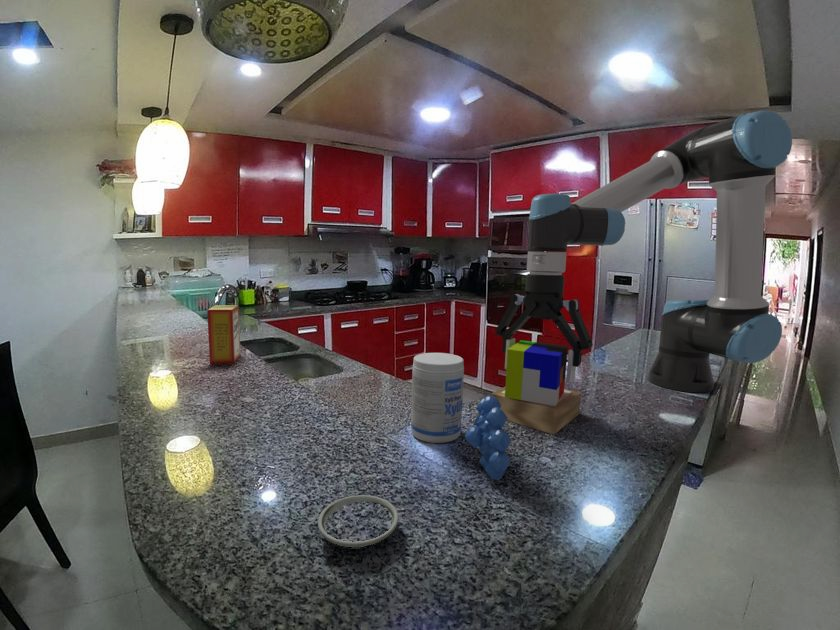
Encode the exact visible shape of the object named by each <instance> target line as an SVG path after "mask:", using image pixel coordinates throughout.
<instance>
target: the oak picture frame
mask: <svg viewBox="0 0 840 630" xmlns="http://www.w3.org/2000/svg"><path fill="white" fill-rule="evenodd" d="M490 395H492V396H494V397H495V398H496V399H497V400H498V401H499V403H500V404H501V408H500V409H501V410H502V411H503V412H504V413H505V415H506V416H507V420H506V422H507V421H508V422H511V423H515V424H517V425H520V426H521V425H522V426H525V427H528V428H531V429H535V430H537V431H541V432H544V433H547V434H551V435H555V434H557V433H558V432H559V431H560V430H561V429H562V428H564V427H565V426H567V425H568V424H569V423H570V422H571V421H573V420H574V419H575V418H576V417H577V416H579V415H580V410H581V409H580V407H581V400H582V398H581V396H582V392H580V391H576V390H571V389H566V388H564V393H563V394H562V396H561V398H560V399H559V401H558V403H557V404H556V406H549V405H544V404H539V403H533V402H528V401H523V400H518V399H512V398H507V397H505V386H504V387H501V388H499V389H497V390H495V391H493V392H491V393H490Z"/></svg>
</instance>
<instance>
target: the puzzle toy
mask: <svg viewBox="0 0 840 630" xmlns="http://www.w3.org/2000/svg"><path fill="white" fill-rule="evenodd" d="M568 351H569V346H568V345H561V344H552V343H544V342H537V341H529V340H521V339H520V340H518V342H515V345H513V346H512V347H510V348H509V349H508V351H507V368H506V369H505V385H504V387H505V397H507V398H512V399H518V400H523V401H528V402H533V403H539V404H544V405H549V406H556V404H557V403H558V401H559V399H560V398H561V396H562V394H563V393H564V389H565V383H566V375H567V363H568Z"/></svg>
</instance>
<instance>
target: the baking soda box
mask: <svg viewBox="0 0 840 630" xmlns="http://www.w3.org/2000/svg"><path fill="white" fill-rule="evenodd" d="M239 309H240V307H239V304H237V305H236V304H235V305H234V304H233V305H232V304H231V305H230V304H229V305H228V304H227V305H226V304H225V305H224V304H220V305H219V304H218V305H217V304H216V305H213V306H212V307H210V308H208V309H207V310H206V311H207V312H206V313H207V329H208V330H207V333H208V335H207V336H208V349H209V365H210V364H211V365H213V364H234V363H236V361H237V360H238V359H239V358H240V356H241V339H240V338H241V334H240V333H241V332H240V310H239Z"/></svg>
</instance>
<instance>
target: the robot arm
mask: <svg viewBox="0 0 840 630" xmlns="http://www.w3.org/2000/svg"><path fill="white" fill-rule="evenodd" d="M792 145H793V135H792V131H791V128H790V126H789V124H788V122H787V121H786V120H785V119H783V117H782V115H780V113H777V112H775V111H772V110H766V109H765V110H758V111H753V112H748V113H743V114H741V115H739V116H735V117H732V118H729V119H725V120H723V121H720V122H716V123H714V124H713V123H712V124H710V125H709V124H708V125H706V126H702V127H700V128H697V129H695V130H693V131H691V132H690V133H688V134H686V135H684V136H683V137H681V138H679V139H678V140H675V141H674V142H672V143H670V144H669V145H667V146H666V147H664V148H661V150H658V151H656V152H655V153H654V154H653V155H651V158H650V160H649V161H647V162H645V163H643V164H642V165H640V166H638V167H636V168H634V169H632V170H630V171H629V172H627V173H625V174H623V175H621V176H620V177H617V178H616V179H614V180H612V181H610V182H609V183H606V184H605V185H602V186H601V187H599V188H598V189H596V190H594V191H592V192H590V193H588V194H586V195H585V196H583V197H581V198H579V199H577V200H576V201H574V202H571V200H572V199H571V197H570V195H568V194H564V193H542V194H537V195H535V196H534V197H533V198H532V199H531V206H530V209H529V217H528V221H529V223H528V224H529V227H528V228H529V229H528V244H527V246H528V248H527V260H526V270H527V272H529V273H527V274H526V276H525V289H524V290H525V295H521V294H520V293H516V294H515V293H513V294H511V296H510V297H509V304H508V306H507V308H506V310H505V312H504V313H503V316H502V317H501V319H500V321H499V323H498V325H497V327H496V329H495V331H494V334H495V335H496V336H500V337H501V338H502V349H501V351H502V353H503V354H505V356H504V357H505V359H504V370H506V368H507V351H508V349H509V348H510V347H512V346H513V345H515V344H516V338H514V335H515V334H516V333H517V332H518V331H519V330H520V328H522V327H523V325H525V324H526V323H527V322H528V321H529V319H530V318H532V319H542V320H546V321H548V320H551V321H552V322H553V323H554V324H555V325H556V326H557V328H558V330H560V332H561V334H562V336H563V337H564V338H565V340H566V341H567V343H568V344H569V345H570V347H571V349H568V352H567V365H566V377H565V383H568V384H571V383H572V382H574V381H575V379H576V369H577V368H578V367H579V366H581V364H582V356H583V355H582V354H583V351H584V350H588V349H591V348H592V347H593V345H594V344H593V341H592V339H591V336H590V334H589V331H588V329H587V327H586V324H585V321H584V319H583V316H582V314H581V311H580V301H579V299H577V298H576V299H571V300H565V298H564V291H565V290H564V289H565V278H566V277H565V275H564V274H563V273H565V272H566V266H567V263H566V262H567V251H568V250H567V249H568V245H569V246H570V245H571V246H601V247H603V246H611V245H612V246H613V245H615V244H618V243H619V241H620V240H621V239H622V238H623V236H624V233H625V230H626V229H625V228H626V218H625V216H624V214H623V212H624V211H626V210H628V209H630V208H631V207H634V206H635V205H637V204H639V203H640V202H643V201H644V200H646V199H648V198H650V197H652V196H653V195H655V194H657V193H659V192H661V191H663V190H664V189H666V190H671V189H675V188H677V187H678V186H681V185H682V184H685V183H688V182H692V181H696V180H701V179H707V178H708V186H710V187H711V188H712V189H714V190H715V192H716V215H715V216H716V220H715V256H714V257H715V258H714V259H715V262H714V263H715V264H714V295H713V297H711V298H710V299H670V300H668V301H665V303H664V306H663V311H662V313H661V323H660V334H659V342H658V344H659V346H658V353H657V354H656V356H655V359H654V361H653V362H652V364H651V366H650V368H649V370H648V376H647V378H648V379H647V380H648V381H649V382H650V383H652V384H654V385H656V386H659V387H661V388H665V389H669V390H674V391H680V392H686V393H687V392H688V393H701V394H702V393H709V392H711V391H713V390H714V386H715V385H714V384H715V381H714V380H715V379H714V375H713V371H712V368H711V362H710V355H713V356H718V357H721V358H723V359H728V360H729V361H731V362H740V363H746V364H756V363H759V362H762V361H764V360H766V359H767V358H768V357H770V356H771V354H772V353H774V351H775V350H776V349H777V348H778V345H779V344H780V341H781V339H782V334H783V326H782V323H781V321H780V320H779V318H777V317H776V316H774V315H773V314H770V312H769V311H770V303H769V301H768V300H767V299H765V298H764V297H763V296H762V295H761V294H762V275H763V250H764V231H765V230H764V227H765V206H766V205H765V203H766V201H765V200H766V187H767V185H768V184H769V183H770V182H771V181H772V180H773V179H774V178H775V177H776V168H777V167H779V166H780V165H781V164H783V163H784V162H785V161H786V160H787V159H788V156H789V155H790V153H791V151H792ZM522 304H523V305H524V306H525V310H523V311H522V313H521V314H520V315H519V317H517V318H516V320H514V322H513V323H512V324H511V325H510V323H511V322H512V320H513V318H514V316H515V315H516V313H517V310H518V309H519V307H520V306H521V305H522ZM564 307H565V309H566V311H568V313H569V316H570V319H571V321H572V324H573V327H574V329H575V332H576V333H575V332H574V330H573V329H572V327H571V326H570V324H569V323H568V321H567V320H566V319H565V316H564V314H563V313H562V311H561V310H562V309H563V308H564ZM509 325H510V326H509Z"/></svg>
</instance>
